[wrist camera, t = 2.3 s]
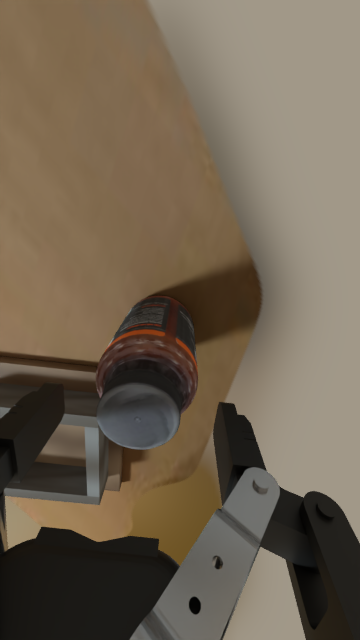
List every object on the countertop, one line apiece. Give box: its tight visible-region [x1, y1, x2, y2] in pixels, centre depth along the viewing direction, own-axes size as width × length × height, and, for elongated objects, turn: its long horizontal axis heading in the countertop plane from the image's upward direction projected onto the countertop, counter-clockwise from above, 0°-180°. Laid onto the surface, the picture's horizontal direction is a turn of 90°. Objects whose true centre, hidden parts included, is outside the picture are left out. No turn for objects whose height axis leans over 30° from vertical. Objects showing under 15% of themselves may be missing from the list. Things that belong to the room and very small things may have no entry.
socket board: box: [0, 356, 123, 505], centre depth 24 cm, size 16×14×4 cm
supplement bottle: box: [96, 296, 198, 449], centre depth 17 cm, size 6×6×11 cm
